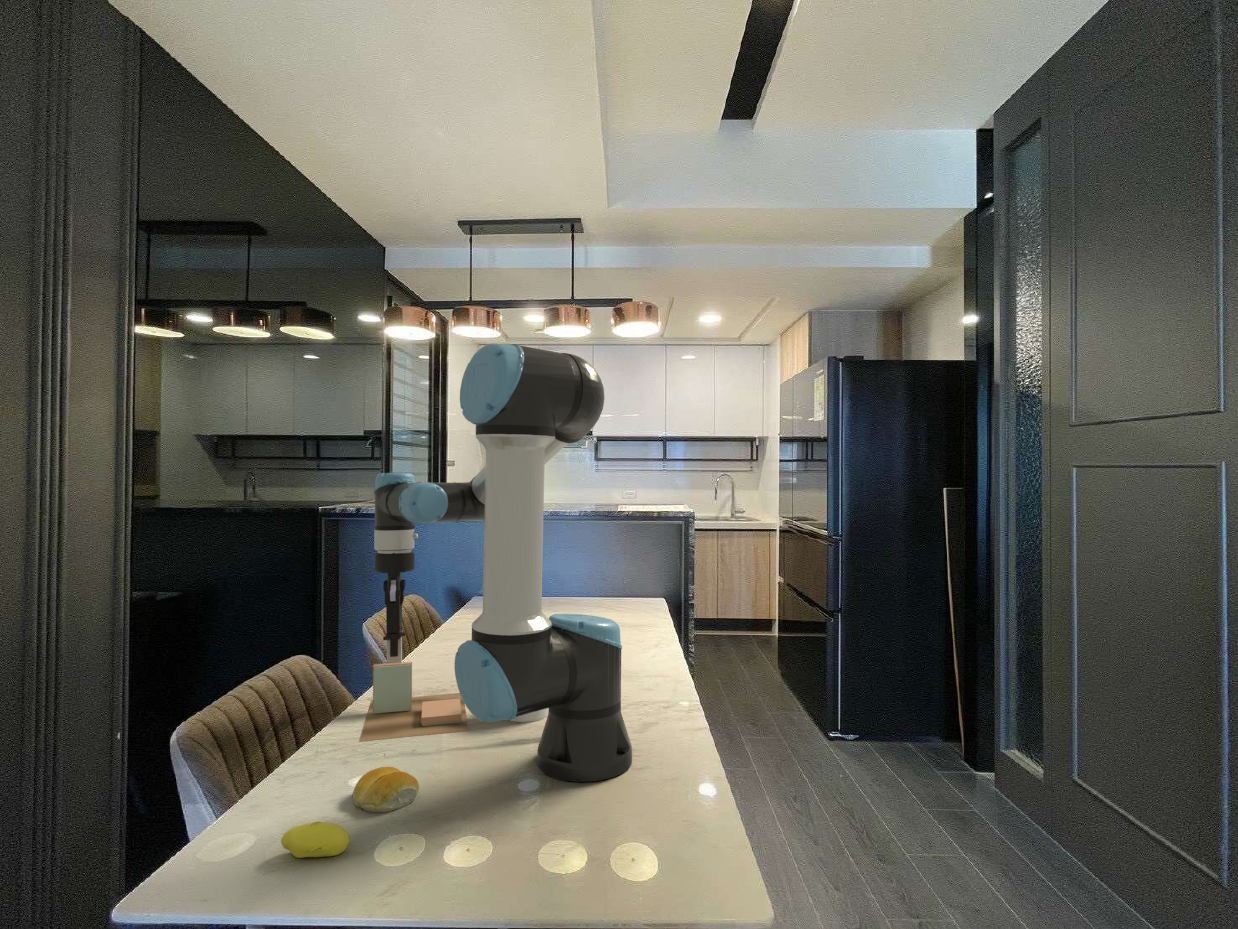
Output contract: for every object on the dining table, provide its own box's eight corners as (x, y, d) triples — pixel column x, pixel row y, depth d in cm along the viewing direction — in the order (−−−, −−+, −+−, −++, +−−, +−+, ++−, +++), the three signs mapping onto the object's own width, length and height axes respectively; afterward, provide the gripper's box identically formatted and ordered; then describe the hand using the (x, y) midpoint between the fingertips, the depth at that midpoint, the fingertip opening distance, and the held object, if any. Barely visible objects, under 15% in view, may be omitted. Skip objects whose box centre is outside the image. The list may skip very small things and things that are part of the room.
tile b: (411, 711, 127) (411, 663, 127) (372, 714, 125) (373, 666, 126) (411, 708, 129) (412, 661, 129) (373, 711, 127) (373, 664, 127)
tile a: (459, 706, 130) (461, 722, 121) (422, 710, 128) (421, 726, 119) (459, 698, 130) (461, 714, 121) (422, 701, 128) (421, 717, 119)
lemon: (339, 866, 78) (339, 832, 78) (273, 864, 78) (273, 830, 78) (355, 846, 82) (356, 814, 82) (292, 844, 82) (293, 812, 83)
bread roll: (392, 780, 100) (392, 754, 100) (427, 798, 95) (427, 770, 95) (340, 801, 94) (340, 772, 94) (374, 821, 88) (374, 791, 88)
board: (468, 736, 117) (468, 730, 117) (359, 747, 112) (359, 741, 112) (463, 697, 138) (463, 692, 138) (371, 705, 134) (371, 700, 134)
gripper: (413, 553, 126) (413, 679, 125) (415, 547, 138) (415, 662, 138) (371, 555, 124) (370, 683, 123) (377, 548, 136) (377, 664, 136)
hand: (394, 671), depth 130 cm, fingers closed
